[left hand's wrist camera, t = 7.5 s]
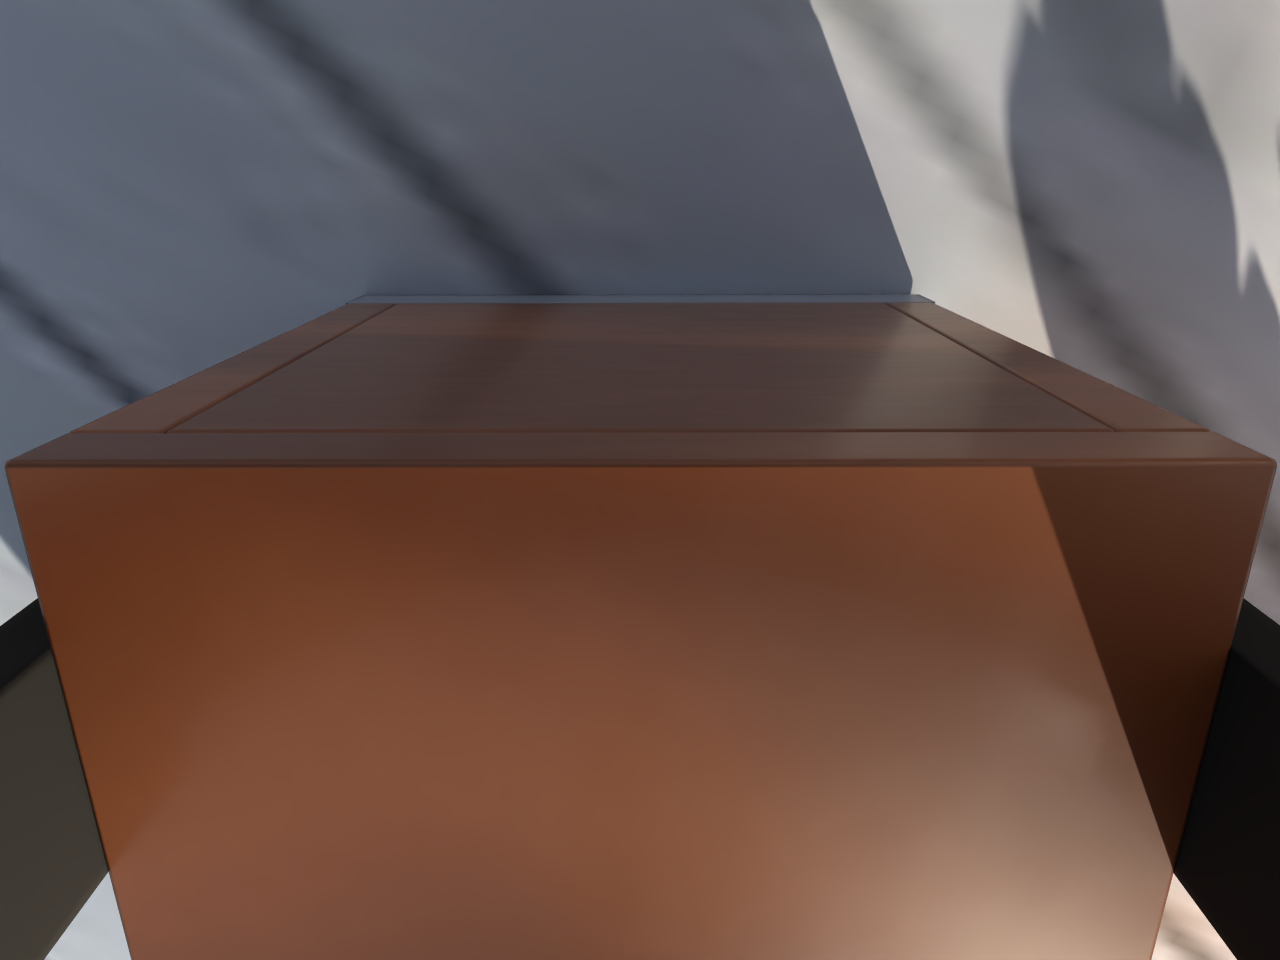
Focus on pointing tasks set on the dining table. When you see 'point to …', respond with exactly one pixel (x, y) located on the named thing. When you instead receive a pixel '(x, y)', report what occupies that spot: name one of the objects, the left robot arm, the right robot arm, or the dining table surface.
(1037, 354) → the cabinet
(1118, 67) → the dining table surface
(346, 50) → the dining table surface
